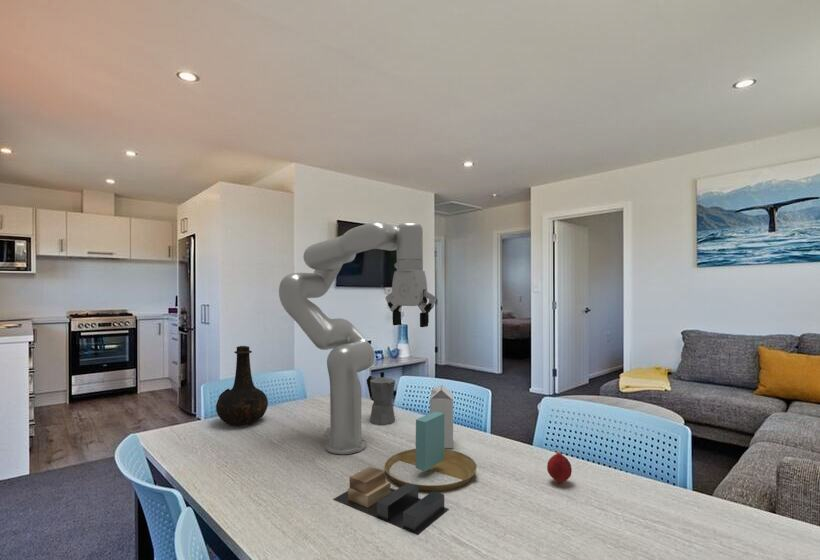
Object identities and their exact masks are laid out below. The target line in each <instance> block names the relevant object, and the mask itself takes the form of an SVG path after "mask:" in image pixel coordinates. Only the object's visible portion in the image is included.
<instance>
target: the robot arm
mask: <svg viewBox="0 0 820 560" xmlns="http://www.w3.org/2000/svg"><path fill="white" fill-rule="evenodd" d="M423 232H424V231H423V227H422V225H421V224H419V223H416V222H404V223H399V224H398V225H397V226H396V225H391V224H387V223H382V222H379V221H378V222H377V221H376V222H375V221H374V222H369V223H368V222H367V223H365V224H362V225H358V226H356V227H352V228H351V229H348V230H347V231H346V232H344V233H343V234H342V235H339V236H336V237H333V238H330V239H327V240H323V241H319V242H317V243H314V244H311V245H310V246H308V247H306V249H305V251H304V253H303V258H302V259H303V261H304V264H305V265H306V266H307V267H308V268H310V269H312V270H314V271H313V272H293V273H289V274H287V275H285V276H284V277H282V279H281V281H280V283H279V286H278V297H279V300H280V303H281V306H282V308H283V309H284V310H285V312H286V313H287V314H288V315H289V316H290V317H291V318H292V319H293V320H294V321H295V322H296V324H297V325H298V326H299V327H300V329H301V330H302V331H303V332H304V333H305V335H306V336H307V337H308V339H309V340H310V341H311V342H312V344H314V346H315V347H316V348H317V349H320V350H323V351H324V350H326V351H327V350H330V352H329V353H328V356H327V359H326V369H327V373H328V377H329V393H330V394H329V399H330V408H329V409H330V413H329V414H330V416H329V417H330V421H329V423H330V424H329V425H330V427H327V428H326V430H325V431H324V432H323V436H325V437H328V438H327V440H328V441H327V442H325V444H324V445H325V447H324V448H325V450H326V451H327V452H329V453H331V454H334V455H351V454H356V453H359V452H361V451H363V450H365V449H366V448H367V444H368V443H367V440H366V439H365V438H363V437H362V386H361V381H360V379H359V375H358V373H360V372H362V371H365V370H368V369H369V368H371V366H372V365H373V364H374V362H375V360H376V359H375V356H376V355H375V351H374V348H373V347H372V345H371V344H370V343H369V341H368V340H367V339H366V338H365V336H364V335H363V334H362V333H361V332H360V331H359V330H358V329H357V327H356V326H355V325H354V324H353V323H352V322H350V321H349V320H347V319H344V318H341V317H340V318H338V317H337V318H330V317H328V316H327V315H326V314H325V313H324V312H323V311H322V309H321V308H320V307H319V306H318V305H317V304H316V303H314V302H312V301H311V300H309V299H315V298H321V297H323V296H325V295H326V294H327V292H328V291H329V290H330V288H331V286H332V285H333V283H334V281H335V279H336V278H337V276H338V274H339V273H340V271H341V269H342V268H343V265H344V264H347V263H351V262H353V261H354V260H355V258H356V256H357V254H359V253H362V252H363V253H364V252H366V251H371V250H376V249H377V250H384V251H388V252H389V251H391V252H393V251H396V262H395V263H394V268H396V271H395V270H394V273H393V277H392V284H391V293H389V294H387V295H386V296H385V300H386V302H387V303H386V304H387V306H388V307H389V309H390V312H392V325H393V326H401V324H402V312H401V311H400V310H401V308H402V307H406V306H407V307H416V306H417V307H418V308H419V310H420V311H421V312H420V313H419V327H420V328H426V327H429V323H430V322H429V321H430V320H429V317H430V316H429V315H430V314H429V313H431V310H432V309H433V308H434V305H435V303H436V301H437V297H436V296H435V295H433V294H432V293H430V292H429V291H428V284H427V276H426V272H425V271H424V256H423V255H424V254H423V253H424V251H423V250H424V248H423V247H424V246H423V245H424V240H423V237H424V236H423V235H424V234H423Z"/></svg>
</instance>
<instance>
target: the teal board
mask: <svg viewBox="0 0 820 560" xmlns="http://www.w3.org/2000/svg"><path fill="white" fill-rule="evenodd" d="M415 449H416V466H415V469H417V470H421V471H422V472H427V471H429V470H428V469H430V468H432V467H433V466H435V465H436V464H438V463H440V462H441V461H443V460H444V449H445V448H444V413H441V412H436V411H435V412H432V413H430V412H429V413H428V414H425V415H423V416H421V417H418V418H417V419H415Z"/></svg>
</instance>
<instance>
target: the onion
mask: <svg viewBox="0 0 820 560" xmlns="http://www.w3.org/2000/svg"><path fill="white" fill-rule="evenodd" d="M546 465H547V466H546V469H547V472H548V474H549V476H550V477H551V478H552V479H553V480H554V481H555V482H556V483H557V484H562V483H564V482H567V481H568V480H569V479H570V478H571V476H572V473H573V472H572V465H571V462H570V461H569V460H568V458H567V457H566V456H564V455H563V454H562V453H561V452H560V451H559V450H556V451H555V454H553V455H552V456H551V457H550V458H549V459H548V461H547V464H546Z"/></svg>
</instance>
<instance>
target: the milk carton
mask: <svg viewBox="0 0 820 560" xmlns="http://www.w3.org/2000/svg"><path fill="white" fill-rule="evenodd" d="M430 392H431V393H430V395H429V396H430V397H429V414H430V413H432V412H435V411H436V412H441V413H444V449H454V401H453V400H454V394H453V393H452V391H450V390H449V389H447V388H446V387H445V385H443V381H441V382H440V385H439V386H438V387H436V386H434V387H433V388H432V389H431V390H430Z"/></svg>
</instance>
